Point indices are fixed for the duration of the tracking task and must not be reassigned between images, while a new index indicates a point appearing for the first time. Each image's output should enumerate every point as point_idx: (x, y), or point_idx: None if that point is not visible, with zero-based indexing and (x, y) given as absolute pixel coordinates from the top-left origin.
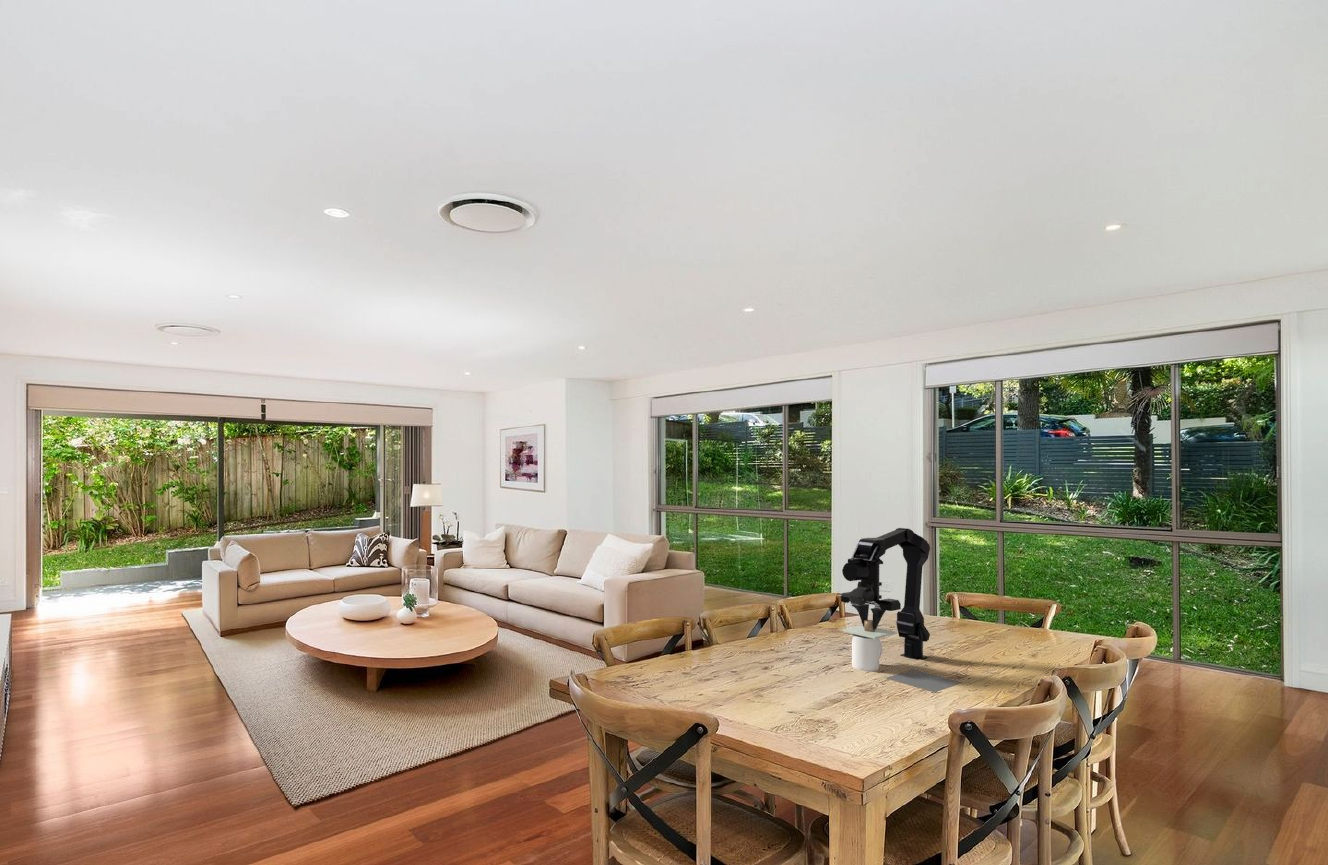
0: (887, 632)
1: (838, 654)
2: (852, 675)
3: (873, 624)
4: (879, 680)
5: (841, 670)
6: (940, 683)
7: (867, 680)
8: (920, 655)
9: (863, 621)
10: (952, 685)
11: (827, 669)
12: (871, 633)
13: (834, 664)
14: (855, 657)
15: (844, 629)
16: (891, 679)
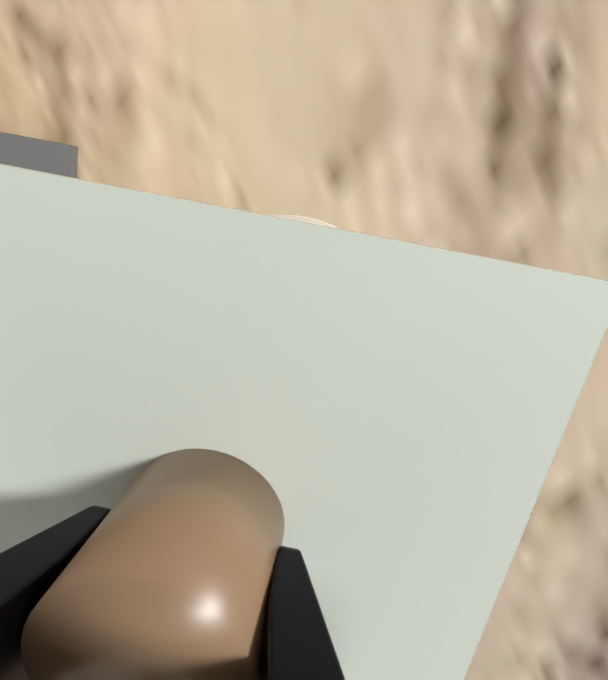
0: None
1: (581, 513)
2: (282, 57)
3: (28, 557)
4: (86, 92)
5: (405, 128)
6: None
7: (140, 14)
8: None
9: (273, 627)
10: None
11: (509, 62)
12: (78, 354)
13: (514, 252)
14: (325, 223)
15: (577, 303)
16: (24, 148)
